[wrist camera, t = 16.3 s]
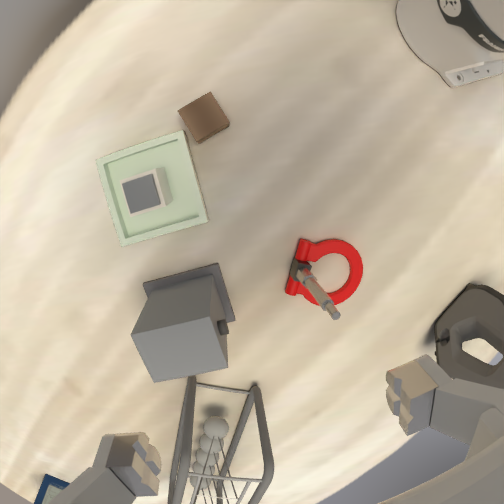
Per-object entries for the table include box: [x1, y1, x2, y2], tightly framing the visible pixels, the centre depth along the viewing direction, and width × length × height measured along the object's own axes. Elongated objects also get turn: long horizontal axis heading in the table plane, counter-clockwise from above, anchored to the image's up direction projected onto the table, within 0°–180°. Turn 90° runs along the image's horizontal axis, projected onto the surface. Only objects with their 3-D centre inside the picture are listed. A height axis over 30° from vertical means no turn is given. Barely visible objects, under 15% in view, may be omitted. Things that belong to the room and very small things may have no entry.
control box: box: [131, 263, 235, 383], centre depth 35 cm, size 10×8×12 cm
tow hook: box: [285, 239, 363, 320], centre depth 36 cm, size 9×14×10 cm
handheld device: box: [435, 283, 504, 389], centre depth 34 cm, size 6×15×25 cm, turn 131°
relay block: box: [120, 168, 173, 217], centre depth 33 cm, size 4×4×6 cm
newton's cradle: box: [168, 376, 274, 504], centre depth 40 cm, size 30×10×18 cm, turn 166°
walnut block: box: [178, 92, 230, 144], centre depth 34 cm, size 4×4×4 cm
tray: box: [96, 130, 209, 247], centre depth 36 cm, size 11×11×2 cm
